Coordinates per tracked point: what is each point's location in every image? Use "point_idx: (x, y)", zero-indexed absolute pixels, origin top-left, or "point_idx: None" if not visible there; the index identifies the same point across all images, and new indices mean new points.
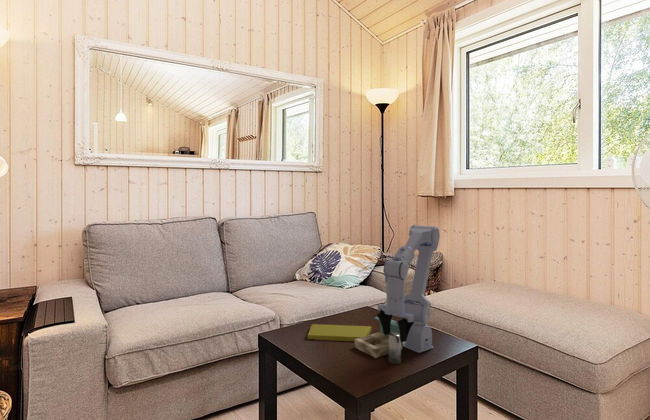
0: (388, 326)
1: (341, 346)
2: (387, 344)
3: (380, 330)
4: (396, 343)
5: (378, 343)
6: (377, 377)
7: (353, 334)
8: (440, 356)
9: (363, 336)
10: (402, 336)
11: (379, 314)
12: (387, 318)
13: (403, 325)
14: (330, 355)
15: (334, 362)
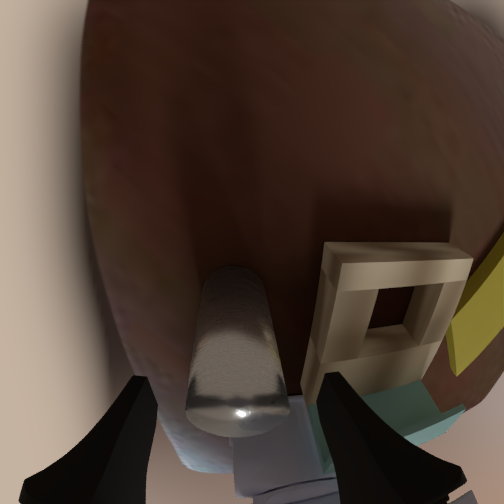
0: (334, 443)
1: (481, 206)
2: (333, 350)
3: (420, 386)
4: (194, 358)
5: (390, 336)
6: (143, 93)
7: (485, 298)
8: (176, 418)
9: (457, 319)
10: (112, 410)
11: (441, 498)
12: (358, 498)
13: (27, 481)
14: (460, 101)
15: (407, 52)
